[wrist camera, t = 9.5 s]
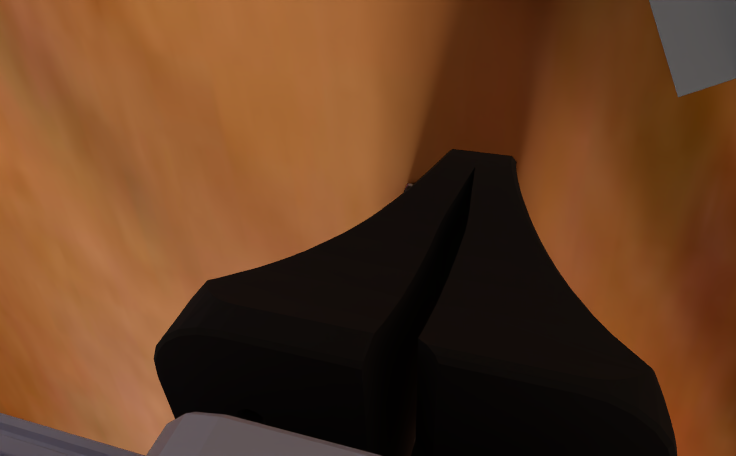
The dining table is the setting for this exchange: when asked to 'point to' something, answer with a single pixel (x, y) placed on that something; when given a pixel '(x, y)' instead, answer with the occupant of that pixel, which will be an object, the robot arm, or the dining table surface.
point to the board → (697, 41)
